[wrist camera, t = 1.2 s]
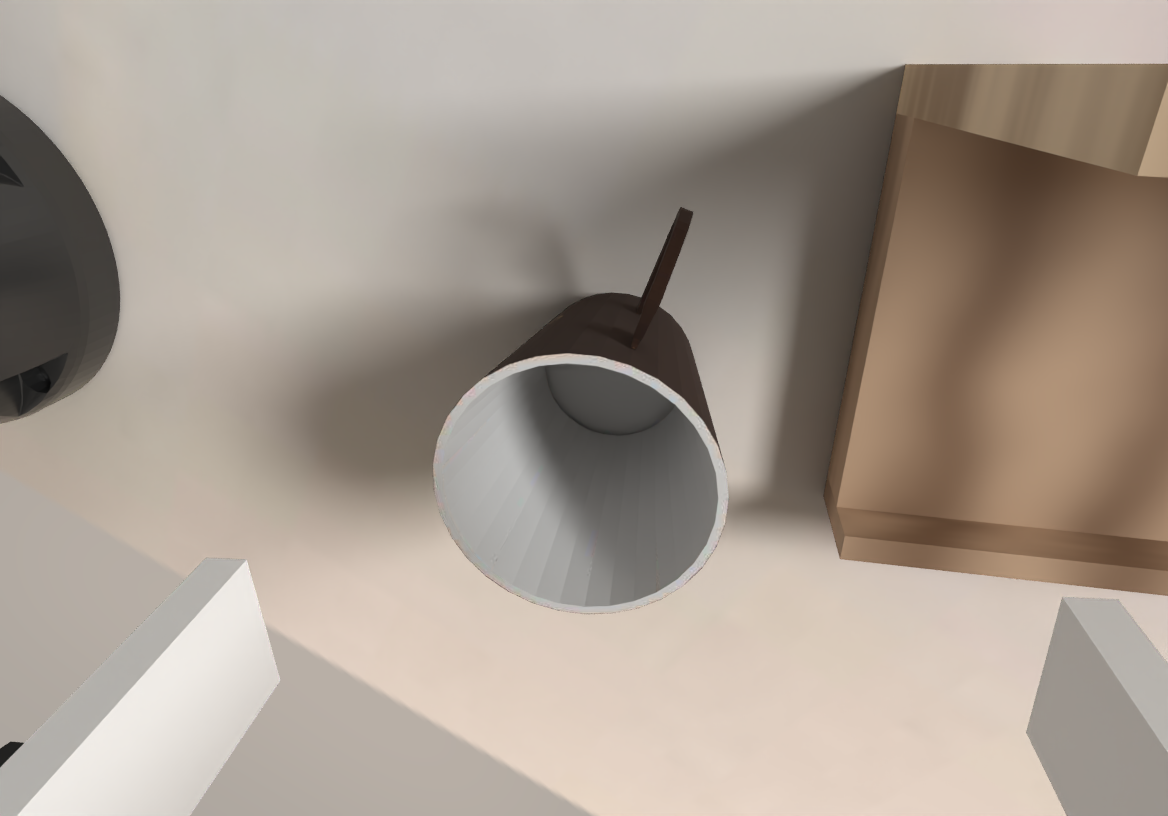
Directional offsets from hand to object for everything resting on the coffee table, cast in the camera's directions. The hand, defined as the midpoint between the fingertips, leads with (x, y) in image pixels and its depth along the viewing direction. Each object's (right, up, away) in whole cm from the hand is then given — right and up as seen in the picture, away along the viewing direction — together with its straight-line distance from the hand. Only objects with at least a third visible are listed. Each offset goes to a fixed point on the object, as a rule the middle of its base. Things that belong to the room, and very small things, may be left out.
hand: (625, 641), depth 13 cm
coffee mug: (+2, +6, +18) cm, 19 cm away
